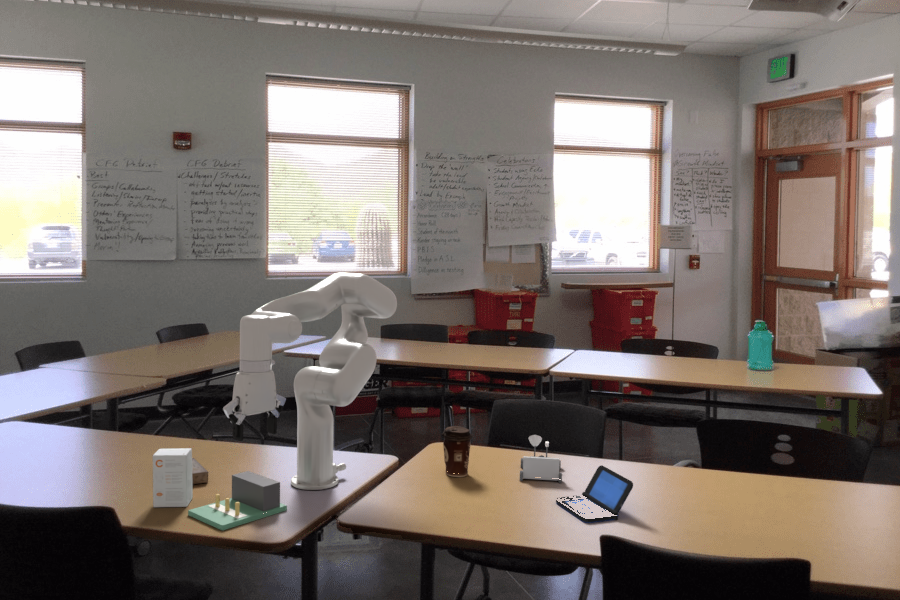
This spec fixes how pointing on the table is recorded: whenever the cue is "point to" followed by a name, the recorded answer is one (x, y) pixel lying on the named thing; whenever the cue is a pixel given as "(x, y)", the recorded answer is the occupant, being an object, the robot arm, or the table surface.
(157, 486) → the small box
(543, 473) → the toy rover
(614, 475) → the laptop
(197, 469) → the box
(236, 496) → the block
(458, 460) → the coffee cup
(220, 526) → the header board
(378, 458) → the table surface
